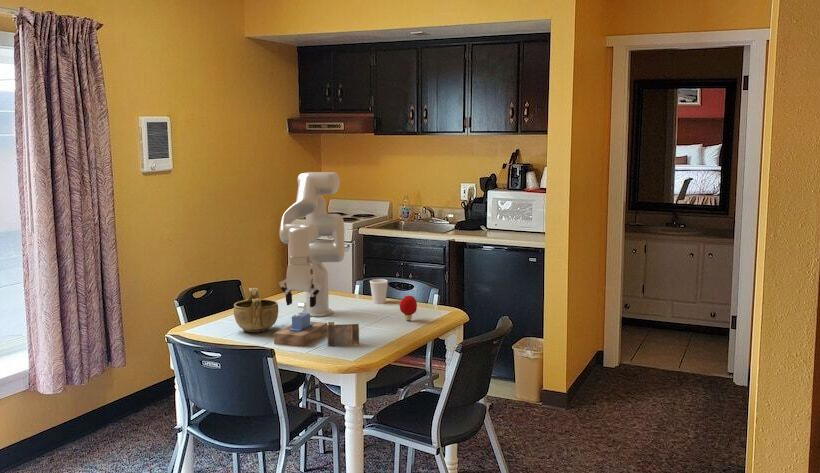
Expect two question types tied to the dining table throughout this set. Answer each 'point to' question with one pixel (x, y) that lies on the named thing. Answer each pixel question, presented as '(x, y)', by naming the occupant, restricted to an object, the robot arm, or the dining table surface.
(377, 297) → the dixie cup
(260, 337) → the dining table surface
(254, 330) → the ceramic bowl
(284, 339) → the brown wooden flat block
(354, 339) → the ruin model on sheet
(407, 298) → the light bulb
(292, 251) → the robot arm
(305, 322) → the servo
